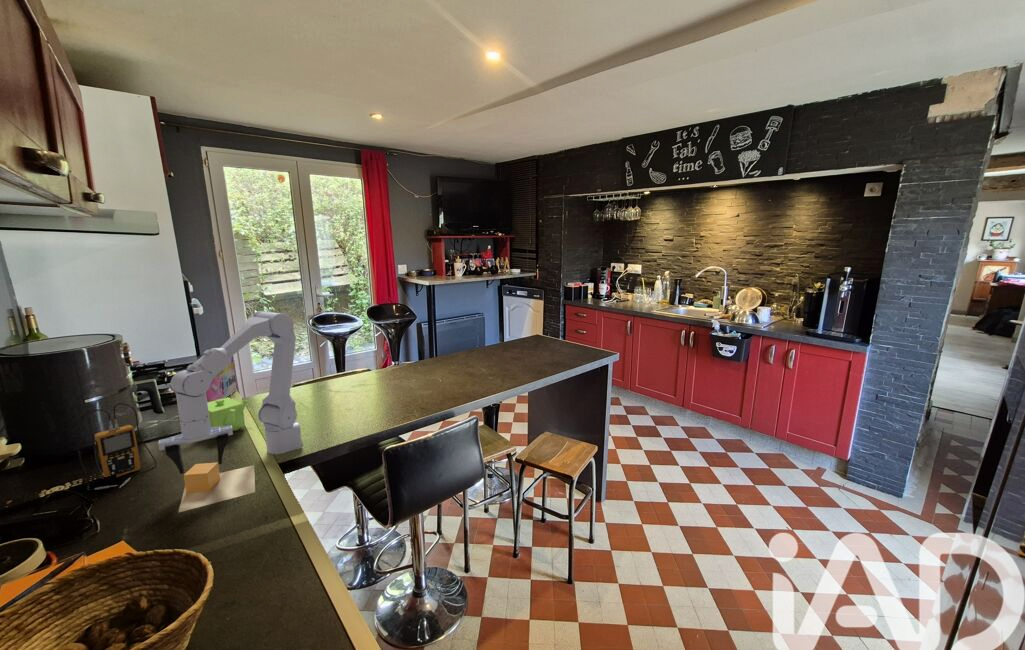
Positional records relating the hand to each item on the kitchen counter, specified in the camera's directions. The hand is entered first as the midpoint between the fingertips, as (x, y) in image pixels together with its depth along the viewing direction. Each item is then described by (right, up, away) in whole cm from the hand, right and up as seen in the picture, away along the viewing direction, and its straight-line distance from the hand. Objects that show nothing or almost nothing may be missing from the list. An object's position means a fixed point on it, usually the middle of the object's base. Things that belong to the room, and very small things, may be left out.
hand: (201, 467), depth 100 cm
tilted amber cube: (0, -5, +1) cm, 5 cm away
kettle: (-20, 0, +34) cm, 40 cm away
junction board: (+4, -7, +1) cm, 8 cm away
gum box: (-43, +5, +62) cm, 76 cm away
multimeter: (-25, -5, +6) cm, 26 cm away
